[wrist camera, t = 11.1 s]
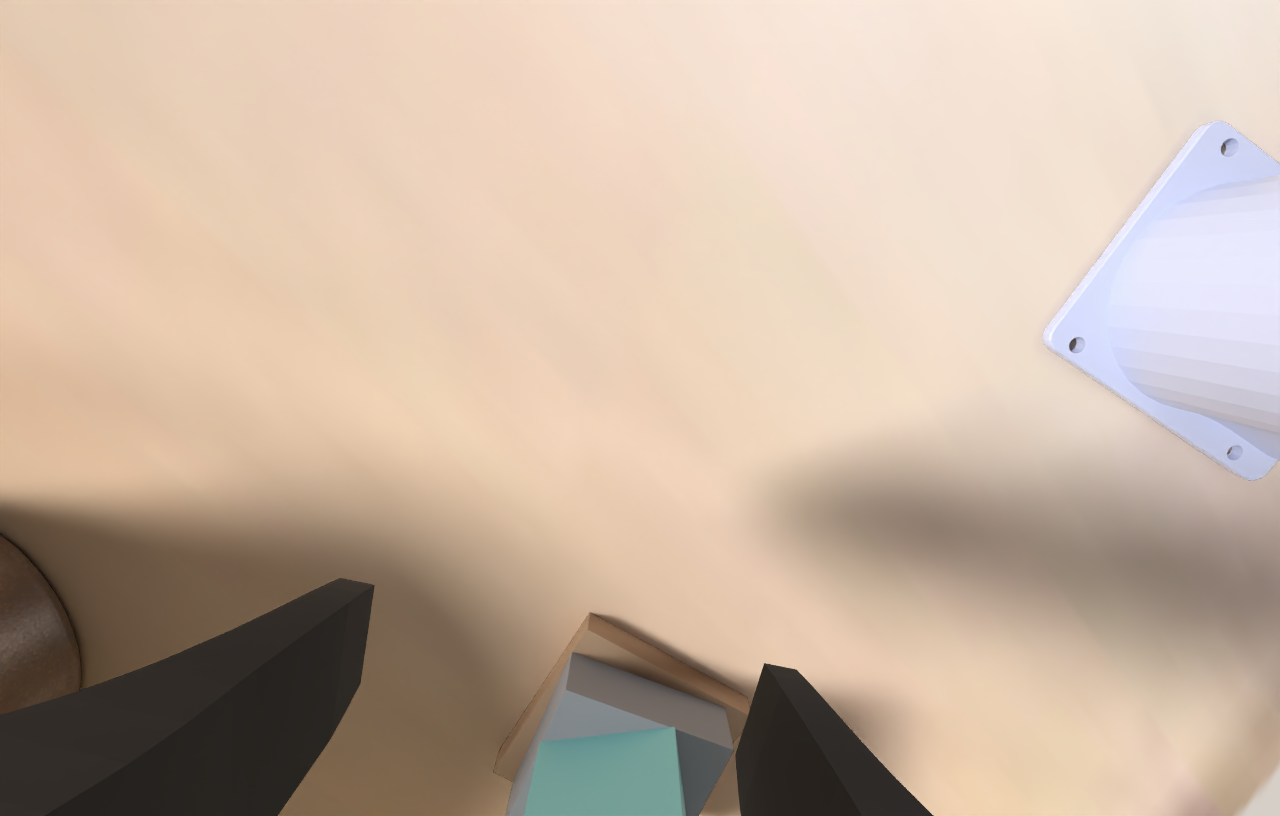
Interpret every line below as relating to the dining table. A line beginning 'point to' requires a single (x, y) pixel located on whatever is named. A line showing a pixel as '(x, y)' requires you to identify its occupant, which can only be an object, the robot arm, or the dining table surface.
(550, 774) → the teal block
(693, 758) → the grey slab
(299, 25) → the dining table surface
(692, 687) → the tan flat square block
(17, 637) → the plant pot
